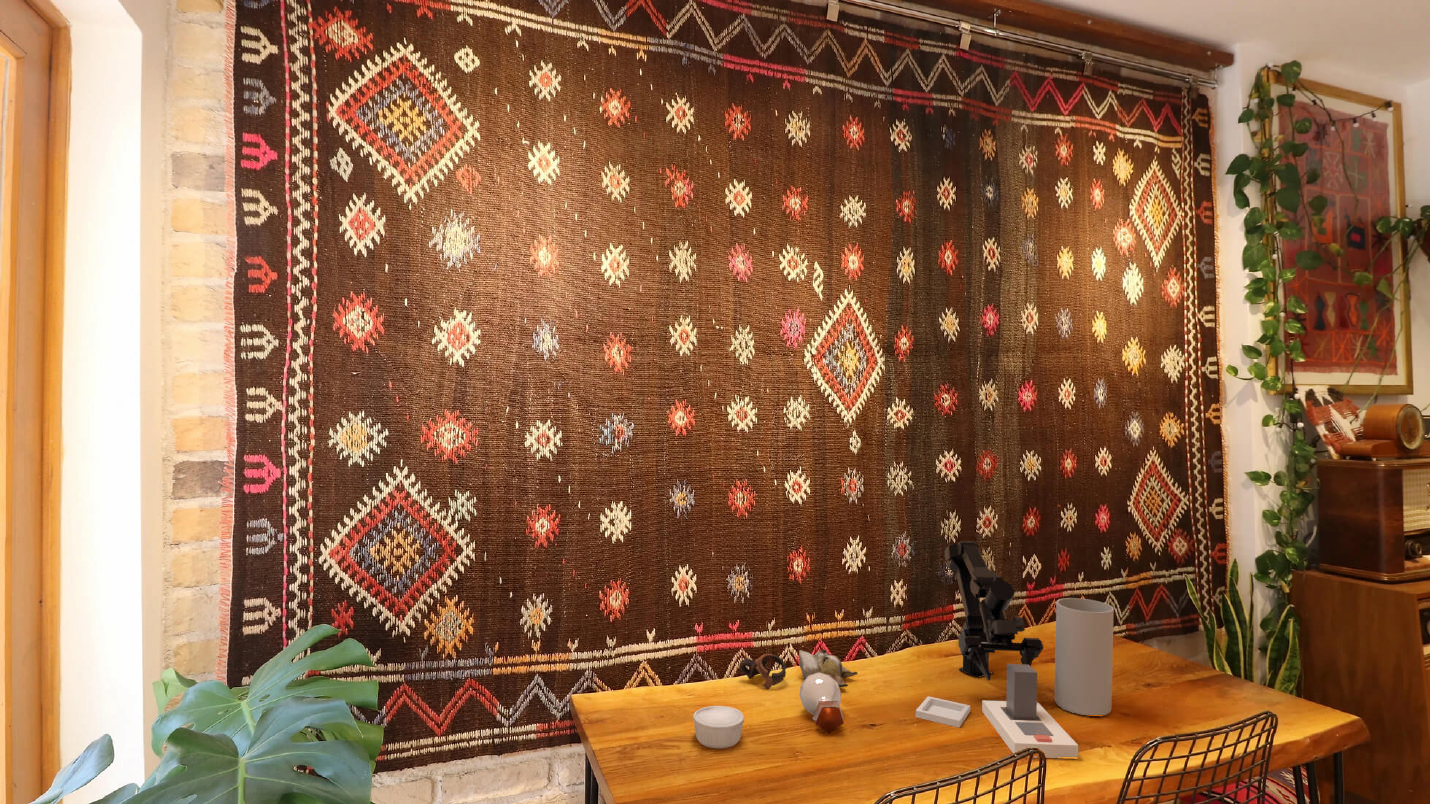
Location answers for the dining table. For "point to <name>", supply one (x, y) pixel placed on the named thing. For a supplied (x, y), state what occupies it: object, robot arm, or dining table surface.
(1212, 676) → the dining table surface
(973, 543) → the robot arm
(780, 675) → the brown curved piece
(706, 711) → the ramekin
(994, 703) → the power strip
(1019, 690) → the plug
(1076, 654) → the cylinder vase
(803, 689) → the potion bottle
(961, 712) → the tray
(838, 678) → the ceramic sculpture
